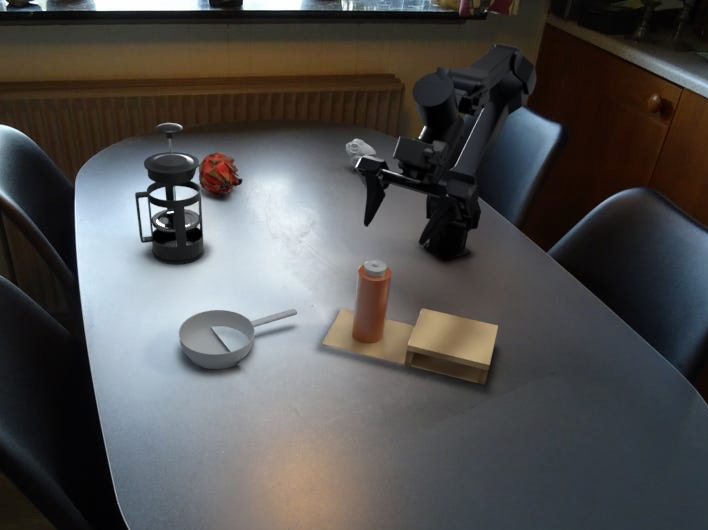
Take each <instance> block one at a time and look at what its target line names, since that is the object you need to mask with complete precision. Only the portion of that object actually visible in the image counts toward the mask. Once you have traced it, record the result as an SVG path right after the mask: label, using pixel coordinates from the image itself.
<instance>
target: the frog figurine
mask: <svg viewBox="0 0 708 530" xmlns="http://www.w3.org/2000/svg"><path fill="white" fill-rule="evenodd" d="M345 151H346V153H347V155H348V157H349V158H350V160H349V161H350V165H351V167H353V168H354V169H355V167H356V165H357V163H358V161H359V159H360V158H361V157H363V156H365V155H368V156H372V157H375V156H376V155H377V152H376V150H375V148H373V147H372V146H371V145H369V144H368V143H366V142H364V140H363V139H359V138H354V139H353V140H352V141H350V142H348V143H346V144H345Z"/></svg>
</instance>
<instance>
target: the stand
mask: <svg viewBox="0 0 708 530" xmlns="http://www.w3.org/2000/svg"><path fill="white" fill-rule="evenodd" d="M353 314H354V310H350V309H345V308H342V309H341V310H340V311H339V313H338V315H337V317H336V318H335V321H334V322H333V324H332V326H331V327H330V328H329V331H328V332H327V334H326V336H325V337H324V339H323V341H322V345H326V346H328V347H329V346H330V347H333V348H337V349H342V350H345V351H348V352H353V353H357V354H361V355H364V356H368V357H373V358H377V359H381V360H384V361H388V362H393V363H397V364H401V365H405V366H409V367H412V368H416V369H421V370H423V371H428V372H432V373H437V374H441V375H445V376H448V377H453V378H457V379H460V380H465V381H469V382H473V383H477V384H481V385H486V381H487V377H488V374H489V370H490V367H491V361H492V356H493V352H494V349H495V343H496V339H497V333H498V329H499V325H498V324H493V323H488V322H484V321H480V320H475V319H472V318H467V317H462V316H458V315H453V314H450V313H445V312H440V311H437V310H431V309H428V308H424V307H422V308H421V310H420V312H419V316H418V317H417V320H416V323H415V325H413V324H408V323H404V322H401V321H395V320H393V319H387V318H386V319H385V327H384V334H383V338H382V339H381V340H380V341H378V342H376V343H363V342H360V341H358V340H356V339H355V338H354V337H353V335H352V324H353Z"/></svg>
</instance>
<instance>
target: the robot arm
mask: <svg viewBox="0 0 708 530" xmlns="http://www.w3.org/2000/svg"><path fill="white" fill-rule="evenodd" d="M535 67H536V66H535V65H534V64H533V63H532V62H531V61H530V60H529V59H528V58H527V57H526V56H525V55H524V54H523V50H522V48H519V46H515V45H510V44H504V43H499V42H498V43H493V44H491V46H490V48H489V50H488V51H487V52H486V53H485V54H484V55H482V56H480V58H478V59H477V60H476V61H475V62H473V63H472V64H470V65H469V66H467V67H453V68H447V67H444V66H443V67H442V66H437V68H436V70H435V71H434V72H431V73H427V74H425V75H424V76H422V77H421V78H419V79H418V80H417V81H416V82H415V84H414V85H413V87H412V97H413V101H414V104H415V107H416V110H417V114H418V117H419V121H420V122H421V124H422V125H423V126H424V127H422V130H421V132H420V134H419V136H418V137H414V138H409V137H405V136H399V137H398V140H397V143H396V147H395V149H394V152H393V154H392V159H394V160H398V162H397V167H398V169H400V170H401V172H397V171H395V170H394V171H393V170H390V167H389V165H388V163H387V161H386V160H385V159H382V158H379V157H375V156H373V157H372V156H368V155H365V156H363V157H361V158H360V159H359V161H358V163H357V165H356V167H355V168H354V169H355V171H356V174H357V175H358V177H359V179H360V181H361V183H362V184H363V185H364V186H365V189H366V201H365V208H364V215H363V225H364V227H365V228H368V227H369V226H370V224H371V223H372V221H373V220H374V218H375V217H376V214H377V212H378V211H379V209H380V207H381V205H382V202H383V201H384V199H385V198H386V191H385V190H387V189H388V188H389V186H390V185H392V186H396V187H399V188H402V189H406V190H410V191H413V192H416V193H420V194H423V195H426V201H425V213H426V214H425V219H428V222H427V223H426V225H425V227H424V228H423V230H422V232H421V234H420V237H419V239H418V245H420V246H423V248H425V249H426V250H428V251H429V252H431V253H432V254H433V255H434V256H437V257H438V258H439V259H441V260H442V261H444V262H448V261H451V260H455V259H457V258H461V257H464V256H467V255H471V253H472V252H471V250H470V249H469V248H467V247H466V246H467V241H468V235H469V232H471V230H477V229H478V227H479V222H480V220H481V215H482V210H481V209H482V208H481V207H480V204H479V191H478V183H477V182H478V180H479V177H480V175H481V174H482V171H483V169H484V167H485V166H486V163H487V161H488V159H489V157H490V154H491V153H492V150H493V148H494V146H495V144H496V142H497V140H498V138H499V136H500V134H501V132H502V129H503V128H504V125H505V123H506V121H507V119H508V118H509V115H511V114H513V113H515V112H516V111H517V110H520V109H521V108H523V106H524V105H525V102H526V100H527V99H528V97H529V96H531V95H532V94H533V92H534V89H535V87H536V83H537V73H536V72H537V71H536V68H535ZM479 113H480V114H479ZM461 114H462V115H461ZM478 114H479V116H478V117H477V120H476V122H475V124H474V125H473V128H472V130H471V132H470V134H469V136H468V138H467V140H466V143H465V144H464V146H463V148H462V150H461V153H460V155H459V157H458V159H457V161H456V163H455V165H454V166H453V167H452V168H450V166H451V164H450V160H451V158H452V156H453V154H454V152H455V149H456V148H457V146H458V144H459V141H460V140H462V139H463V138H464V135H465V129H466V123H465V120H464V117H463V115H467V116H470V117H475V116H477V115H478ZM449 168H450V169H449Z"/></svg>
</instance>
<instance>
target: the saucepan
mask: <svg viewBox="0 0 708 530" xmlns="http://www.w3.org/2000/svg"><path fill="white" fill-rule="evenodd" d="M297 314H298V310H297V309H295V308H290V309H287V310H284V311H281V312H277V313H274V314H270V315H267V316H263V317H260V318H257V319H253V320H250V319H249V318H248V317H247V316H245V315H243V314H241V313H239V312H235V311H232V310H225V309H213V310H211V309H210V310H205V311H201V312H198V313H195V314H192V315H191V316H189V317H188V318H186V319H185V320H184V321H183V322H182V324H181V325H180V327H179V330H178V338H179V343H180V347H181V349H182V351H183V353H185V355H186V356H187V357H188V358H189V359H190V361H191V362H193V363H194V364H195V365H197V366H199V367H201V368H205V369H209V370H210V369H211V370H222V369H228V368H231V367H235V366H237V365H238V364H239V363H240V361H241V360H242V359H244V358H245V357H247V355H248V354H249V353H250V351H251V349H252V348H253V345H254V342H255V333H256V329H255V328H257V327H260V326H263V325H266V324H270V323H273V322H276V321H281V320H283V319H287V318H290V317H293V316H296V315H297ZM213 327H215V328H216V327H224V328H231V329H234V330H237V331H239V332H241V333H242V334H243V335H245V337H247V339H248V343H246V344H245V345H244V346H242V347H240V348H238V349H236V350H232V351H231V350H230V349H229V348H228V346H227V344H225V342H224V341H223V339H221V338H220V336H219V335H218V334H217V332H216V331H215V330H214V329H213Z"/></svg>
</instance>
